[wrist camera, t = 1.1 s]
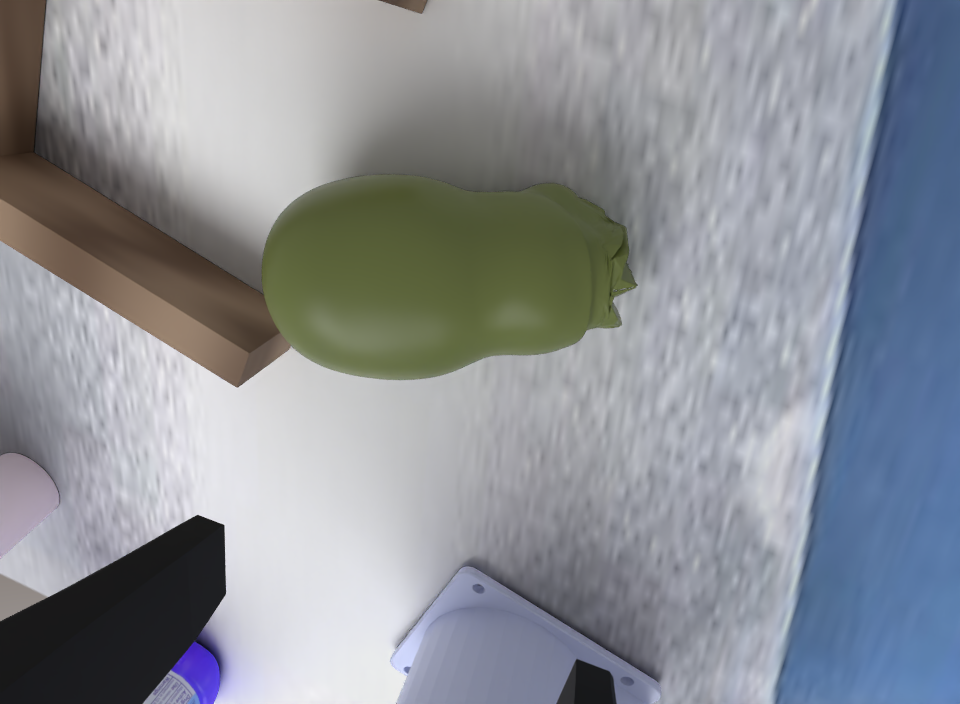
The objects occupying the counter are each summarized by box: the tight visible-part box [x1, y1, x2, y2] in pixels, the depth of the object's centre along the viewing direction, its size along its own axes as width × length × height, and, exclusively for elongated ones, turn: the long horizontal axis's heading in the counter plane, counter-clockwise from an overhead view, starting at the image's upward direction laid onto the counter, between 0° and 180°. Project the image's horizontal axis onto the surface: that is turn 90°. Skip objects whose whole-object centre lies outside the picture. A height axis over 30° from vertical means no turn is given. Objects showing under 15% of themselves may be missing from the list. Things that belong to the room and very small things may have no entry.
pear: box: [262, 174, 637, 380], centre depth 16 cm, size 6×5×10 cm
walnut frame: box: [0, 0, 427, 388], centre depth 16 cm, size 13×15×3 cm
